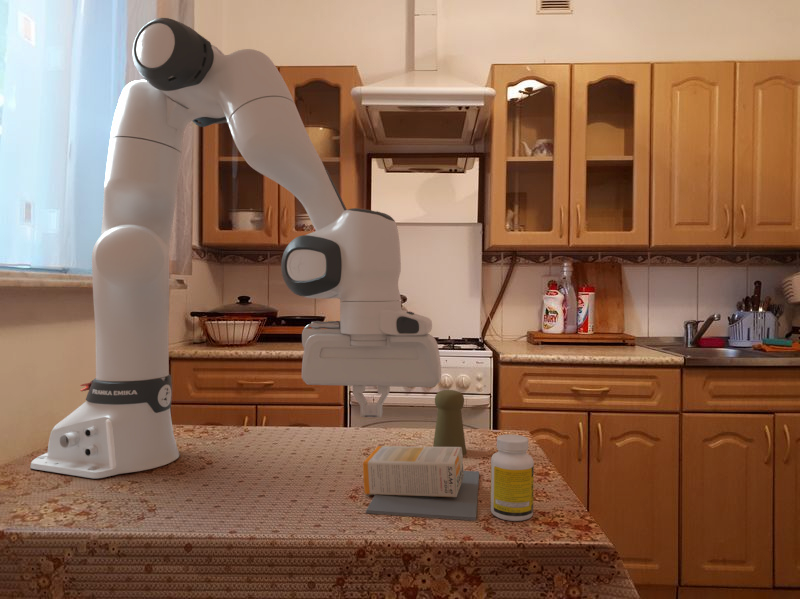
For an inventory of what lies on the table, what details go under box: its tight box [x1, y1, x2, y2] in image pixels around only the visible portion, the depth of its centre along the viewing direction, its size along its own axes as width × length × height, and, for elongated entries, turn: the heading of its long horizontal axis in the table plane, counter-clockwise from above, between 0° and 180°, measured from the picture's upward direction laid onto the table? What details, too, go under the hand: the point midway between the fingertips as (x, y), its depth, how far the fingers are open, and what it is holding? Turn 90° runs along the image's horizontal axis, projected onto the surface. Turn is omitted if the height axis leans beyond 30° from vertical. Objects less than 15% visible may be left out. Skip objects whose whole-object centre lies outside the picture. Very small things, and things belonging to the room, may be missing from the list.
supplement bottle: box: [490, 433, 535, 522], centre depth 71 cm, size 5×5×10 cm
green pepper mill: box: [432, 389, 467, 457], centre depth 98 cm, size 6×6×11 cm
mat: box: [365, 470, 480, 522], centre depth 79 cm, size 14×18×1 cm
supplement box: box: [362, 445, 465, 497], centre depth 79 cm, size 8×5×13 cm
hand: (371, 416), depth 80 cm, fingers closed
